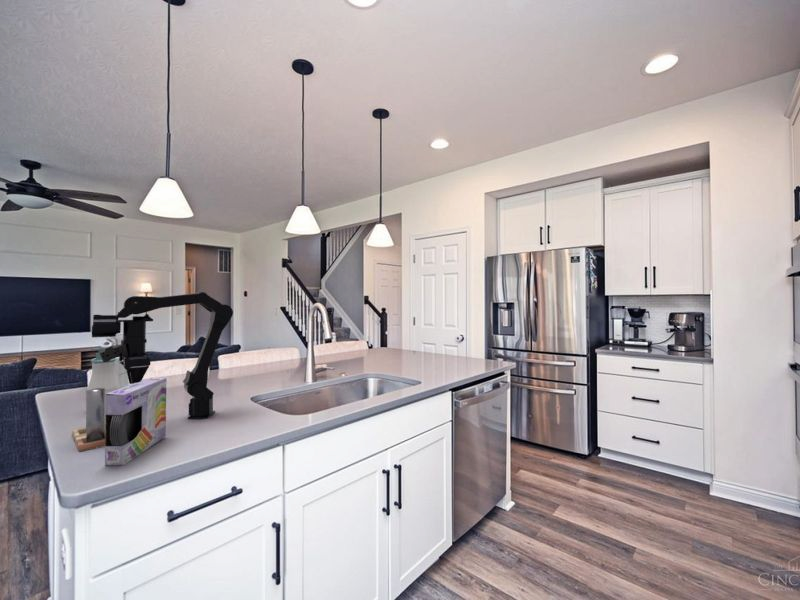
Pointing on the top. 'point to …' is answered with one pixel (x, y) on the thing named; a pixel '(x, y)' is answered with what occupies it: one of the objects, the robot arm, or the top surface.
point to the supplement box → (121, 373)
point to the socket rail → (81, 438)
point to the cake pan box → (134, 419)
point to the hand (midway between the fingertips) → (133, 386)
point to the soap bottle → (103, 374)
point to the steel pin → (95, 414)
